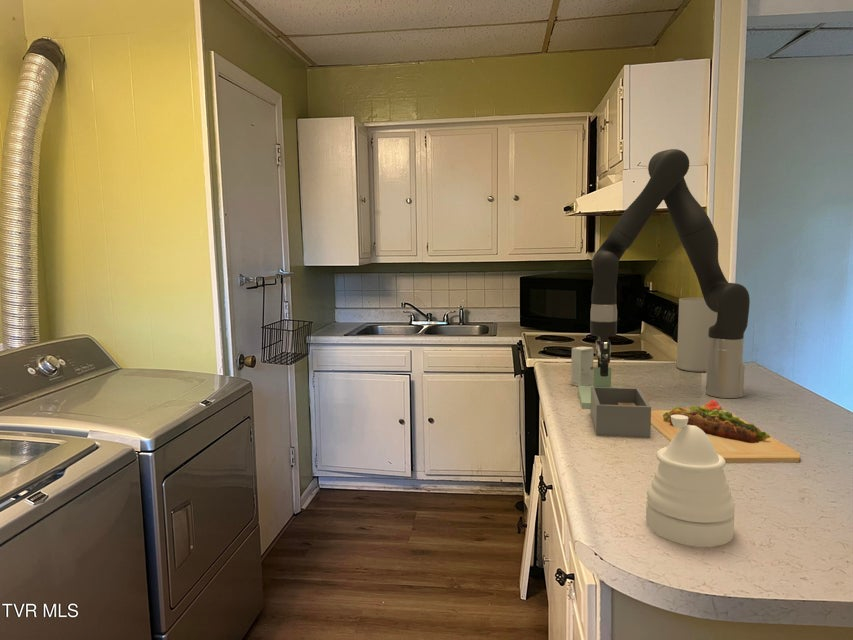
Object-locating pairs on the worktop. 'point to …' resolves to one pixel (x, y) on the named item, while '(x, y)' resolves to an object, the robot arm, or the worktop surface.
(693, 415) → the cutting board
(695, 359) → the cylinder vase
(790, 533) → the worktop surface
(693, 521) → the honey pot
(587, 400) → the lid
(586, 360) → the skincare box
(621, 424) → the tub
